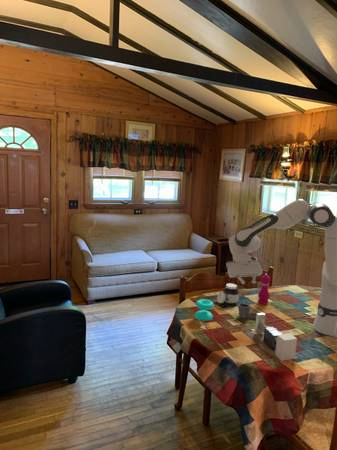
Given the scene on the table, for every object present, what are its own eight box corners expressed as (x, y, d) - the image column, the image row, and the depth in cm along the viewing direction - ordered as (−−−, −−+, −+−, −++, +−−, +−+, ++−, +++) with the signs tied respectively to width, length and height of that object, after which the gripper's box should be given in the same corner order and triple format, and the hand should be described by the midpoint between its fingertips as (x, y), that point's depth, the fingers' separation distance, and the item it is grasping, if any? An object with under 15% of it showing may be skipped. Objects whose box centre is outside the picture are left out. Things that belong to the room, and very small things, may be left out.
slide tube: (261, 330, 181) (263, 312, 179) (282, 348, 164) (284, 329, 163) (254, 331, 180) (256, 313, 178) (274, 349, 163) (277, 329, 161)
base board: (266, 331, 185) (266, 329, 185) (299, 359, 159) (299, 357, 159) (244, 333, 181) (244, 331, 181) (275, 363, 155) (275, 361, 155)
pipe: (259, 322, 195) (260, 309, 193) (236, 319, 197) (237, 306, 196) (258, 318, 201) (259, 305, 199) (236, 315, 203) (237, 302, 202)
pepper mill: (266, 305, 219) (270, 275, 215) (255, 302, 223) (259, 273, 219) (270, 302, 225) (273, 273, 221) (259, 299, 229) (262, 270, 225)
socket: (287, 352, 163) (290, 333, 161) (294, 358, 158) (297, 338, 156) (275, 354, 161) (277, 334, 159) (281, 360, 156) (284, 340, 154)
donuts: (199, 306, 188) (193, 298, 198) (198, 322, 190) (192, 314, 200) (216, 305, 191) (210, 298, 200) (215, 321, 193) (208, 314, 202)
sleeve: (271, 340, 173) (273, 326, 172) (281, 349, 166) (283, 334, 164) (263, 341, 172) (264, 327, 170) (272, 350, 164) (274, 335, 163)
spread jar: (239, 303, 221) (241, 286, 218) (230, 308, 212) (232, 290, 210) (223, 297, 228) (225, 280, 226) (214, 302, 220) (215, 284, 218)
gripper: (227, 259, 191) (234, 281, 184) (259, 257, 197) (267, 280, 190) (223, 264, 196) (229, 286, 189) (254, 263, 202) (262, 284, 195)
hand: (248, 283), depth 189 cm, fingers open, 5 cm apart
